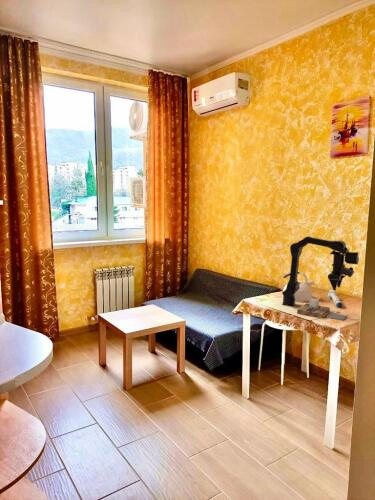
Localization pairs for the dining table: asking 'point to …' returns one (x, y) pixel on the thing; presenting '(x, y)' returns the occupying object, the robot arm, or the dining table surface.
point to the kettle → (302, 289)
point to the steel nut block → (313, 304)
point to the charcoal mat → (336, 316)
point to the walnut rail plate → (319, 313)
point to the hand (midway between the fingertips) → (336, 288)
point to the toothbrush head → (335, 298)
